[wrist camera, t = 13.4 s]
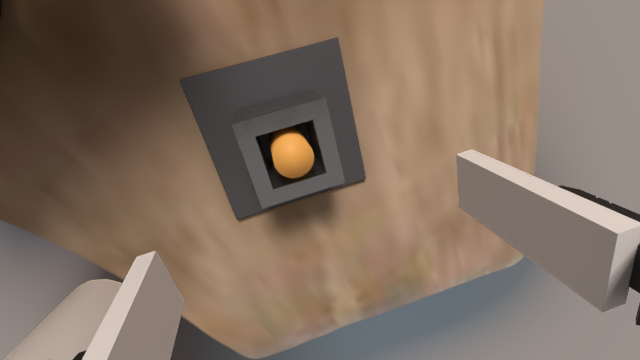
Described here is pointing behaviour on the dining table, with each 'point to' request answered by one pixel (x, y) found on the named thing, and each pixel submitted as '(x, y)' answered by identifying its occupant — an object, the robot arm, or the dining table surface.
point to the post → (289, 150)
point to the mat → (262, 86)
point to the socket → (277, 117)
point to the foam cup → (69, 324)
